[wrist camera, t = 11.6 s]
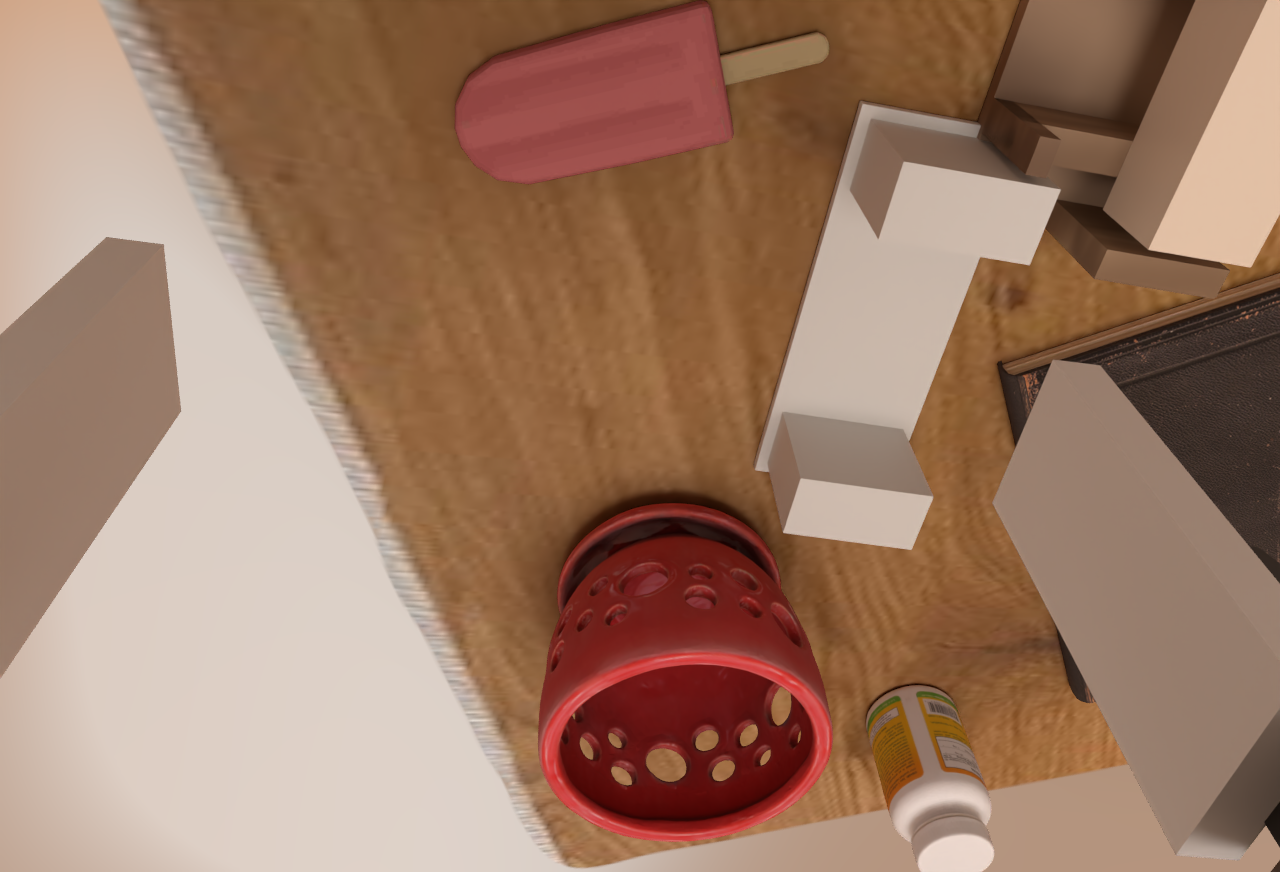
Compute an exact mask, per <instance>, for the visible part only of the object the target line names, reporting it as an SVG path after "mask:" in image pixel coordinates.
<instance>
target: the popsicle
mask: <svg viewBox="0 0 1280 872" xmlns="http://www.w3.org/2000/svg"><path fill="white" fill-rule="evenodd" d="M828 53H829V43H828V41H827V38H826V36H825V35H823V34H821V33H818V32H814V33H810V34H806V35H802V36H798V37H794V38H789V39H785V40H781V41H777V42H773V43H769V44H765V45H761V46H757V47H752V48H748V49H744V50H740V51H736V52H732V53H728V54H724V55H720V53H719V47H718V42H717V36H716V31H715V25H714V20H713V14H712V10H711V7H710V6H709V4H708V3H707V1H703V0H699V1H695V2H691V3H687V4H683V5H679V6H675V7H672V8H668V9H664V10H660V11H656V12H652V13H648V14H644V15H640V16H636V17H632V18H629V19H625V20H621V21H617V22H613V23H609V24H605V25H602V26H598V27H595V28H591V29H588V30H584V31H580V32H577V33H573V34H570V35H566V36H563V37H559V38H556V39H552V40H549V41H545V42H542V43H538V44H535V45H531V46H528V47H524V48H521V49H517V50H514V51H510V52H507V53H503V54H500V55H496V56H494V57H493V58H491V59H490V60H489V61H487V62H486V63H485V64H483V65H482V66H481V67H479V68H478V69H477V70H475V71H474V72H473V73H471V74H470V75H469V76H468V78H467V80H466V82H465V85H464V87H463V89H462V91H461V93H460V95H459V98H458V100H457V102H456V104H455V130H456V134H457V137H458V140H459V143H460V146H461V148H462V149H463V150H464V152H465V153H466V154H467V156H468V157H469V158H470V160H471V161H472V162H473V164H474V165H475V166H476V167H478V168H479V169H481V170H483V171H484V172H486V173H487V174H489V175H490V176H492V177H494V178H495V179H497V180H501V181H508V182H516V183H523V184H533V183H538V182H543V181H548V180H553V179H558V178H563V177H568V176H573V175H578V174H583V173H588V172H593V171H598V170H603V169H608V168H613V167H618V166H623V165H628V164H633V163H637V162H642V161H646V160H651V159H655V158H660V157H664V156H668V155H673V154H677V153H682V152H686V151H690V150H695V149H699V148H704V147H708V146H712V145H717V144H721V143H726V142H728V141H730V140H731V139H732V138H733V134H734V131H733V125H732V120H731V114H730V109H729V103H728V98H727V92H726V85H730V84H734V83H738V82H742V81H746V80H751V79H755V78H759V77H763V76H767V75H772V74H776V73H780V72H784V71H788V70H792V69H797V68H801V67H805V66H809V65H813V64H817V63H822V62H823V61H824V59H825V58H826V57H827V56H828Z"/></svg>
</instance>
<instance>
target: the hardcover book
mask: <svg viewBox="0 0 1280 872" xmlns="http://www.w3.org/2000/svg"><path fill="white" fill-rule="evenodd" d="M1053 359H1054V360H1061V361H1069V362H1077V363H1085V364H1092V365H1100V366H1101V367H1102V368H1103V370H1104V371H1105V372H1106V373H1107V374H1108V376H1109V377H1110V378H1111V379H1112V380H1113V382H1114V383H1115V384H1116V385H1117V387H1118V388H1119V389H1120V390H1121V391H1122V393H1123V394H1124V395H1125V396H1126V397H1127V399H1128V400H1129V401H1130V402H1131V404H1132V405H1133V406H1134V407H1135V408H1136V410H1137V411H1138V412H1139V413H1140V414H1141V416H1142V417H1143V418H1144V419H1145V421H1146V422H1147V423H1148V424H1149V425H1150V427H1151V428H1152V429H1153V430H1154V431H1155V433H1156V434H1157V435H1158V436H1159V438H1160V439H1161V440H1162V441H1163V442H1164V444H1165V445H1166V446H1167V447H1168V448H1169V450H1170V451H1171V452H1172V453H1173V455H1174V456H1175V457H1176V458H1177V459H1178V461H1179V462H1180V463H1181V464H1182V465H1183V467H1184V468H1185V469H1186V470H1187V472H1188V473H1189V474H1190V475H1191V476H1192V478H1193V479H1194V480H1195V481H1196V482H1197V484H1198V485H1199V486H1200V487H1201V489H1202V490H1203V491H1204V492H1205V493H1206V495H1207V496H1208V497H1209V498H1210V499H1211V501H1212V502H1213V503H1214V504H1215V506H1216V507H1217V508H1218V509H1219V510H1220V512H1221V513H1222V514H1223V515H1224V516H1225V518H1226V519H1227V520H1228V521H1229V523H1230V524H1231V525H1232V526H1233V527H1234V529H1235V530H1236V531H1237V532H1238V533H1239V535H1240V536H1241V537H1242V538H1243V540H1244V541H1245V542H1246V543H1247V544H1248V546H1254V547H1259V548H1260V549H1262V550H1263V551H1264V552H1266V553H1267V554H1268V555H1270V556H1271V557H1272V558H1274V559H1275V560H1276V561H1278V562H1279V563H1280V273H1278V274H1275V275H1272V276H1269V277H1266V278H1263V279H1260V280H1257V281H1254V282H1251V283H1248V284H1245V285H1242V286H1239V287H1236V288H1233V289H1230V290H1227V291H1224V292H1221V293H1218V294H1217V296H1216V298H1215V299H1211V298H1203V299H1200V300H1197V301H1194V302H1191V303H1188V304H1185V305H1182V306H1179V307H1176V308H1173V309H1170V310H1167V311H1164V312H1161V313H1158V314H1155V315H1152V316H1149V317H1146V318H1142V319H1139V320H1136V321H1133V322H1130V323H1127V324H1124V325H1121V326H1118V327H1115V328H1112V329H1109V330H1106V331H1103V332H1100V333H1097V334H1094V335H1091V336H1088V337H1085V338H1082V339H1079V340H1076V341H1073V342H1070V343H1067V344H1064V345H1061V346H1058V347H1055V348H1052V349H1049V350H1046V351H1043V352H1040V353H1037V354H1034V355H1030V356H1027V357H1024V358H1021V359H1018V360H1015V361H1012V362H1009V363H1006V364H1003V365H1002V361H999V362H998V364H997V365H998V369H999V373H1000V378H1001V382H1002V387H1003V391H1004V396H1005V400H1006V405H1007V409H1008V414H1009V418H1010V422H1011V427H1012V431H1013V436H1014V440H1015V445H1016V446H1017V443H1018V441H1019V439H1020V436H1021V434H1022V432H1023V429H1024V427H1025V425H1026V422H1027V420H1028V417H1029V415H1030V413H1031V410H1032V408H1033V406H1034V403H1035V401H1036V398H1037V396H1038V394H1039V391H1040V389H1041V387H1042V384H1043V382H1044V379H1045V377H1046V375H1047V372H1048V370H1049V368H1050V365H1051V363H1052V360H1053ZM1056 627H1057V626H1056ZM1057 632H1058V636H1059V641H1060V645H1061V649H1062V654H1063V658H1064V663H1065V667H1066V672H1067V676H1068V681H1069V684H1070V687H1071V690H1072V692H1073V693H1074V695H1075V696H1076V698H1077V699H1079V700H1080V701H1083V702H1086V703H1093V702H1096V701H1095V699H1094V697H1093V695H1092V693H1091V691H1090V690H1089V688H1088V686H1087V684H1086V682H1085V680H1084V678H1083V676H1082V674H1081V672H1080V670H1079V668H1078V667H1077V665H1076V663H1075V661H1074V659H1073V657H1072V655H1071V653H1070V651H1069V649H1068V647H1067V645H1066V643H1065V642H1064V640H1063V638H1062V636H1061V634H1060V632H1059V630H1058V628H1057Z"/></svg>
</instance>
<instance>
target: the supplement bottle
mask: <svg viewBox="0 0 1280 872" xmlns="http://www.w3.org/2000/svg"><path fill="white" fill-rule="evenodd" d="M866 728H867V732H868V737H869V741H870V745H871V748H872V751H873V755H874V759H875V762H876V766H877V770H878V774H879V777H880V781H881V785H882V789H883V793H884V796H885V800H886V803H887V807H888V810H889V814H890V817H891V820H892V823H893V825H894V827H895V829H896V831H897V832H898V833H899V834H900V835H901V836H902V837H903V838H904V839H905V840H907V841H909V842H910V843H911V844H912V849H913V853H914V856H915V859H916V862H917V865H918V868H919V869H920V871H921V872H982V871H983V870H985V869H986V868H987V867H988V866H989V865H990V863H991V862H992V860H993V858H994V847H993V844H992V841H991V838H990V835H989V831H988V829H987V828H986V825H987V823H988V821H989V818H990V815H991V800H990V797H989V794H988V791H987V788H986V786H985V783H984V781H983V778H982V775H981V772H980V770H979V767H978V764H977V762H976V759H975V756H974V754H973V751H972V748H971V746H970V743H969V740H968V738H967V735H966V732H965V730H964V727H963V724H962V721H961V719H960V716H959V713H958V711H957V709H956V706H955V704H954V702H953V701H952V699H951V698H950V697H949V696H948V695H947V694H945V693H944V692H942V691H940V690H938V689H936V688H933V687H929V686H923V685H912V686H906V687H902V688H898V689H896V690H893V691H891V692H889V693H887V694H885V695H884V696H882V697H881V698H879V699H878V700H877V701H876V702H875V703H874V704H873V705H872V707H871V708H870V710H869V712H868V715H867V719H866Z"/></svg>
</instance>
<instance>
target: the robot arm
mask: <svg viewBox="0 0 1280 872" xmlns="http://www.w3.org/2000/svg"><path fill="white" fill-rule="evenodd" d="M180 412H181V406H180V397H179V387H178V378H177V368H176V359H175V349H174V341H173V331H172V320H171V311H170V301H169V292H168V283H167V273H166V263H165V254H164V245H163V244H155V243H147V242H140V241H132V240H123V239H116V238H109V237H106V238H105V239H104V240H103V241H102V242H101V243H100V244H99V245H97V246H96V247H95V248H94V249H93V250H92V251H91V252H90V253H89V254H88V255H87V256H85V257H84V258H83V259H82V260H81V261H80V262H79V263H78V264H77V265H76V266H75V267H74V268H72V269H71V270H70V271H69V272H68V273H67V274H66V275H65V276H64V277H63V278H62V279H60V281H58V282H57V283H56V284H55V285H54V286H53V287H52V288H51V289H50V290H48V291H47V292H46V293H45V294H44V295H43V296H42V297H41V298H40V299H39V300H38V301H37V302H35V303H34V304H33V305H32V306H31V307H30V308H29V309H28V310H27V311H26V312H25V313H23V314H22V315H21V316H20V317H19V318H18V319H17V320H16V321H15V322H14V323H13V324H11V325H10V326H9V327H8V328H7V329H6V330H5V331H4V332H3V333H2V334H1V335H0V678H1V677H2V675H3V674H4V672H5V671H6V669H7V668H8V667H9V665H10V663H11V662H12V661H13V659H14V658H15V656H16V655H17V653H18V652H19V650H20V649H21V647H22V645H23V644H24V643H25V641H26V640H27V638H28V636H29V635H30V634H31V632H32V631H33V629H34V628H35V627H36V625H37V624H38V622H39V620H40V619H41V618H42V616H43V615H44V613H45V612H46V610H47V609H48V607H49V606H50V604H51V603H52V601H53V600H54V598H55V597H56V595H57V594H58V592H59V591H60V590H61V588H62V586H63V585H64V584H65V582H66V581H67V579H68V578H69V576H70V575H71V573H72V572H73V570H74V569H75V567H76V566H77V564H78V563H79V561H80V560H81V558H82V557H83V555H84V554H85V552H86V551H87V550H88V548H89V547H90V545H91V544H92V542H93V541H94V539H95V538H96V536H97V535H98V533H99V532H100V530H101V529H102V527H103V526H104V524H105V523H106V521H107V520H108V518H109V517H110V515H111V514H112V513H113V511H114V509H115V508H116V507H117V505H118V504H119V502H120V501H121V499H122V498H123V496H124V495H125V493H126V492H127V490H128V489H129V487H130V486H131V484H132V483H133V481H134V480H135V478H136V477H137V475H138V474H139V472H140V471H141V470H142V468H143V467H144V465H145V464H146V462H147V461H148V459H149V458H150V456H151V455H152V453H153V452H154V450H155V449H156V447H157V446H158V444H159V443H160V441H161V440H162V438H163V437H164V436H165V434H166V432H167V431H168V430H169V428H170V427H171V425H172V424H173V422H174V421H175V419H176V418H177V416H178V415H179V413H180ZM993 505H994V507H995V509H996V511H997V513H998V515H999V517H1000V519H1001V521H1002V522H1003V524H1004V526H1005V528H1006V530H1007V532H1008V534H1009V536H1010V538H1011V540H1012V542H1013V544H1014V546H1015V547H1016V549H1017V551H1018V553H1019V555H1020V557H1021V559H1022V561H1023V563H1024V565H1025V567H1026V569H1027V570H1028V572H1029V574H1030V576H1031V578H1032V580H1033V582H1034V584H1035V586H1036V588H1037V590H1038V592H1039V594H1040V595H1041V597H1042V599H1043V601H1044V603H1045V605H1046V607H1047V609H1048V611H1049V613H1050V615H1051V617H1052V618H1053V620H1054V622H1055V624H1056V626H1057V628H1058V630H1059V632H1060V634H1061V636H1062V638H1063V640H1064V642H1065V643H1066V645H1067V647H1068V649H1069V651H1070V653H1071V655H1072V657H1073V659H1074V661H1075V663H1076V665H1077V667H1078V668H1079V670H1080V672H1081V674H1082V676H1083V678H1084V680H1085V682H1086V684H1087V686H1088V688H1089V690H1090V691H1091V693H1092V695H1093V697H1094V699H1095V701H1096V703H1097V705H1098V707H1099V709H1100V711H1101V713H1102V715H1103V716H1104V718H1105V720H1106V722H1107V724H1108V726H1109V728H1110V730H1111V732H1112V734H1113V736H1114V738H1115V739H1116V741H1117V743H1118V745H1119V747H1120V749H1121V751H1122V753H1123V755H1124V757H1125V759H1126V761H1127V763H1128V764H1129V766H1130V768H1131V770H1132V772H1133V774H1134V776H1135V778H1136V780H1137V782H1138V784H1139V786H1140V787H1141V789H1142V791H1143V793H1144V795H1145V797H1146V799H1147V801H1148V803H1149V805H1150V807H1151V808H1152V811H1153V812H1154V814H1155V816H1156V818H1157V820H1158V822H1159V824H1160V826H1161V827H1162V830H1163V832H1164V834H1165V835H1166V837H1167V839H1168V841H1169V843H1170V845H1171V847H1172V849H1173V851H1174V853H1175V855H1177V856H1189V857H1204V858H1215V859H1228V860H1240V858H1241V857H1242V856H1243V854H1244V853H1245V852H1246V850H1247V849H1248V848H1249V847H1250V845H1251V844H1252V843H1253V841H1254V840H1255V839H1256V837H1257V836H1258V834H1259V833H1260V832H1261V831H1262V829H1263V828H1264V827H1265V826H1267V828H1268V829H1269V831H1270V832H1271V834H1272V836H1273V837H1274V839H1275V840H1276V842H1277V844H1278V845H1279V847H1280V563H1279V562H1278V561H1276V560H1275V559H1274V558H1272V557H1271V556H1270V555H1268V554H1267V553H1266V552H1264V551H1263V550H1262V549H1260V548H1259V547H1254V546H1248V544H1247V543H1246V542H1245V541H1244V540H1243V538H1242V537H1241V536H1240V535H1239V533H1238V532H1237V531H1236V530H1235V529H1234V527H1233V526H1232V525H1231V524H1230V523H1229V521H1228V520H1227V519H1226V518H1225V516H1224V515H1223V514H1222V513H1221V512H1220V510H1219V509H1218V508H1217V507H1216V506H1215V504H1214V503H1213V502H1212V501H1211V499H1210V498H1209V497H1208V496H1207V495H1206V493H1205V492H1204V491H1203V490H1202V489H1201V487H1200V486H1199V485H1198V484H1197V482H1196V481H1195V480H1194V479H1193V478H1192V476H1191V475H1190V474H1189V473H1188V472H1187V470H1186V469H1185V468H1184V467H1183V465H1182V464H1181V463H1180V462H1179V461H1178V459H1177V458H1176V457H1175V456H1174V455H1173V453H1172V452H1171V451H1170V450H1169V448H1168V447H1167V446H1166V445H1165V444H1164V442H1163V441H1162V440H1161V439H1160V438H1159V436H1158V435H1157V434H1156V433H1155V431H1154V430H1153V429H1152V428H1151V427H1150V425H1149V424H1148V423H1147V422H1146V421H1145V419H1144V418H1143V417H1142V416H1141V414H1140V413H1139V412H1138V411H1137V410H1136V408H1135V407H1134V406H1133V405H1132V404H1131V402H1130V401H1129V400H1128V399H1127V397H1126V396H1125V395H1124V394H1123V393H1122V391H1121V390H1120V389H1119V388H1118V387H1117V385H1116V384H1115V383H1114V382H1113V380H1112V379H1111V378H1110V377H1109V376H1108V374H1107V373H1106V372H1105V371H1104V370H1103V368H1102V367H1101V366H1100V365H1092V364H1085V363H1077V362H1069V361H1061V360H1054V359H1053V360H1052V363H1051V365H1050V368H1049V370H1048V372H1047V375H1046V377H1045V379H1044V382H1043V384H1042V387H1041V389H1040V391H1039V394H1038V396H1037V398H1036V401H1035V403H1034V406H1033V408H1032V410H1031V413H1030V415H1029V417H1028V420H1027V422H1026V425H1025V427H1024V429H1023V432H1022V434H1021V436H1020V439H1019V441H1018V443H1017V446H1016V448H1015V451H1014V453H1013V455H1012V458H1011V460H1010V462H1009V465H1008V467H1007V470H1006V472H1005V474H1004V477H1003V479H1002V481H1001V484H1000V486H999V489H998V491H997V493H996V496H995V498H994V500H993ZM1271 872H1280V861H1279V862H1278V863H1277V865H1276V866H1275V867H1274V869H1273V870H1272V871H1271Z"/></svg>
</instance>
